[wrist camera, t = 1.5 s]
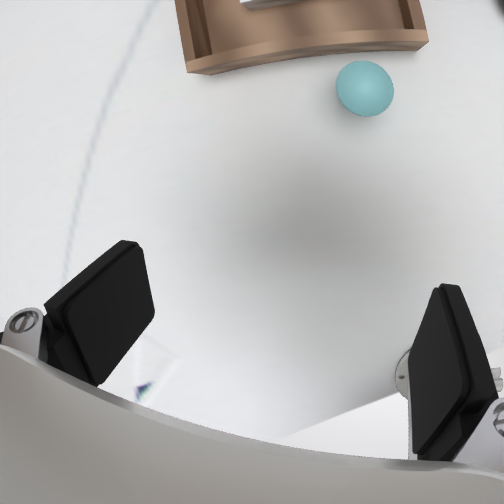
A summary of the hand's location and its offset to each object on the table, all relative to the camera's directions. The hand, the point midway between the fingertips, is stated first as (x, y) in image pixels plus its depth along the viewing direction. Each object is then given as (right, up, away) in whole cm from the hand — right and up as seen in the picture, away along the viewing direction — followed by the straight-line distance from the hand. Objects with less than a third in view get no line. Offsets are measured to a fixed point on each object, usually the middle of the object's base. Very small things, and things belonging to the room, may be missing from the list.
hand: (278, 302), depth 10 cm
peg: (+9, +16, +16) cm, 24 cm away
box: (+3, +28, +11) cm, 31 cm away
